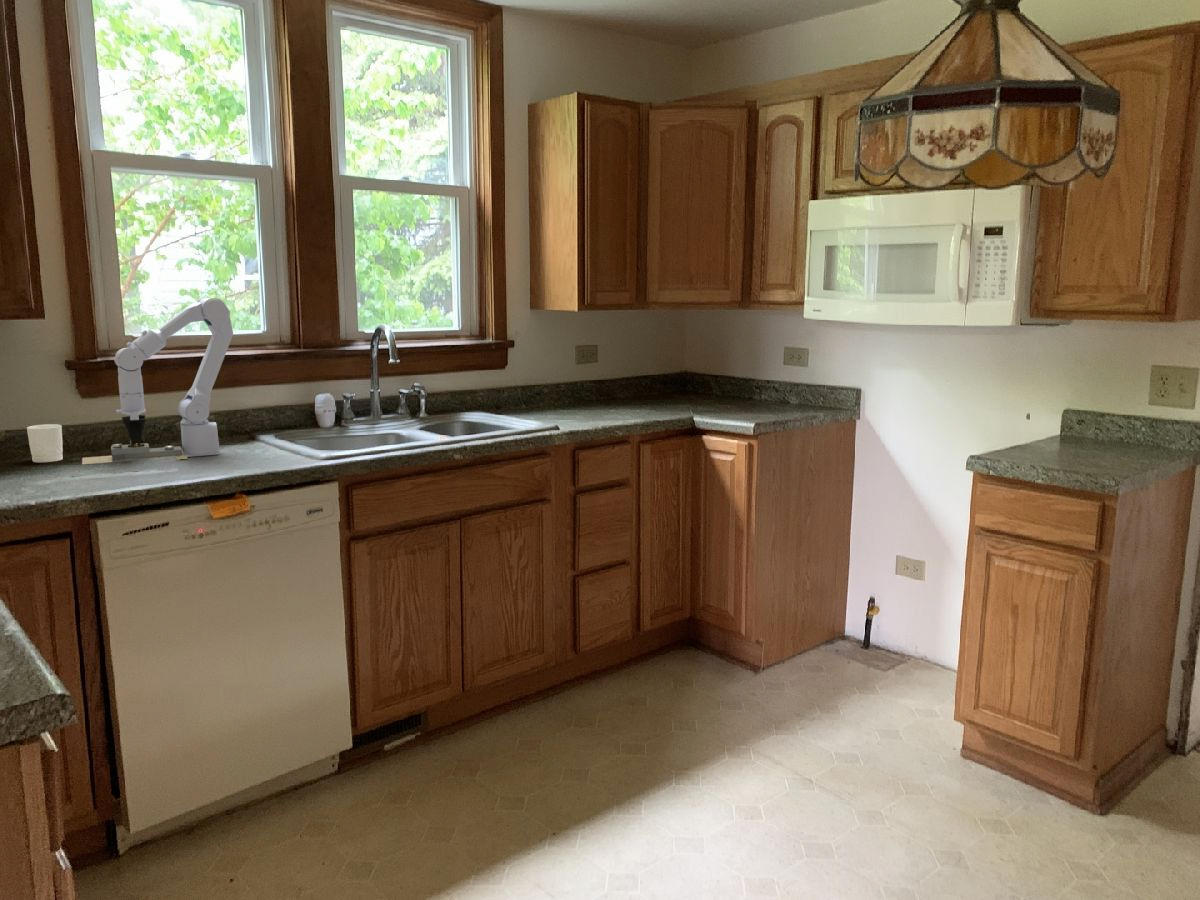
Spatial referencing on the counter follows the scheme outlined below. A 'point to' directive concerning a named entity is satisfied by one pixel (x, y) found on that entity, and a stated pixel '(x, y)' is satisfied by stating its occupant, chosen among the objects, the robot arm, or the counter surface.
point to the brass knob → (135, 445)
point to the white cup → (45, 442)
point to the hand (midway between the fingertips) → (136, 443)
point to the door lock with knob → (137, 453)
